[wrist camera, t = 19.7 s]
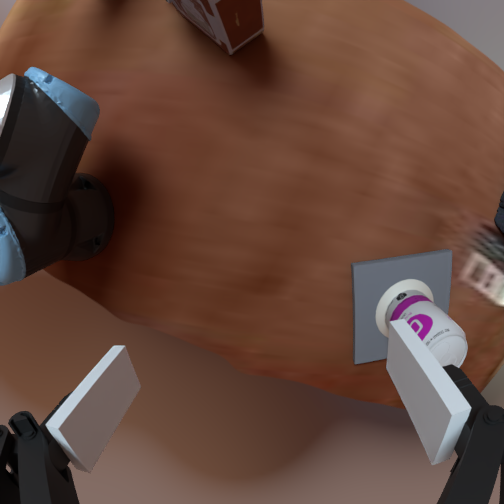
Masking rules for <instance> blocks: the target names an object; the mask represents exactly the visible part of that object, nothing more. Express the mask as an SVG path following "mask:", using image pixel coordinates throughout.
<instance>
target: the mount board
mask: <svg viewBox="0 0 504 504" xmlns="http://www.w3.org/2000/svg"><path fill="white" fill-rule="evenodd" d="M451 269H452V251H451V250H449V249H445V250H439V251H432V252H426V253H419V254H413V255H406V256H399V257H392V258H385V259H378V260H371V261H364V262H357V263H351V270H352V293H353V361H354V364H360V363H365V362H371V361H376V360H381V359H386V358H387V354H388V341H389V330H388V328H387V325H386V323H385V313H386V310H387V307H388V305H389V304H390V302H391V301H392V299H393V298H394V297H396V296H397V295H398V294H399V293H401V292H404V291H406V290H418V291H420V292H422V293H423V294H424V295H426V296H427V297H428V298H429V299H430V300H431V301H432V302H433V303H435V304H436V305H437V306H438V307H439V308H440V309H441V310H442V311H443V312H444V313H446V314H447V315H448V308H449V298H450V286H451Z"/></svg>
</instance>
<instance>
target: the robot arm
mask: <svg viewBox="0 0 504 504" xmlns="http://www.w3.org/2000/svg"><path fill="white" fill-rule="evenodd" d="M99 113H100V109H99V105H98V103H97V102H96V101H95V100H94V99H92V98H91V97H89V96H88V95H86V94H85V93H83V92H81V91H80V90H78V89H76V88H74V87H73V86H71V85H69V84H67V83H65V82H64V81H62V80H60V79H58V78H55V77H54V76H52V75H50V74H48V73H46V72H44V71H42V70H40V69H38V68H36V67H30V68H29V69H28V71H26V72H25V74H24V77H22V76H18V75H15V74H10V75H8V76H6V77H5V78H3V79H1V80H0V285H7V284H10V283H12V282H15V281H21V280H23V279H24V278H25V277H27V276H29V275H31V274H33V273H35V272H37V271H39V270H41V269H43V268H45V267H47V266H49V265H51V264H53V263H55V262H57V261H59V260H72V261H82V260H86V259H89V258H91V257H93V256H95V255H97V254H99V253H100V252H101V251H102V250H103V249H104V248H105V247H106V245H107V244H108V242H109V240H110V238H111V235H112V232H113V227H114V210H113V205H112V201H111V198H110V196H109V194H108V192H107V190H106V188H105V187H104V186H103V184H102V183H101V182H100V181H99V180H98V179H96V178H95V177H93V176H91V175H89V174H85V173H76V170H77V168H78V165H79V163H80V160H81V158H82V155H83V153H84V150H85V148H86V146H87V143H88V141H90V140H91V134H92V131H93V129H94V126H95V124H96V122H97V119H98V117H99ZM386 369H387V371H388V373H389V375H390V377H391V379H392V381H393V383H394V385H395V387H396V389H397V391H398V393H399V395H400V397H401V399H402V401H403V403H404V405H405V407H406V409H407V411H408V413H409V415H410V418H411V420H412V422H413V424H414V426H415V428H416V430H417V433H418V435H419V437H420V439H421V442H422V444H423V446H424V448H425V450H426V453H427V455H428V458H429V460H430V462H431V465H434V464H437V463H440V462H443V461H446V460H448V459H450V457H451V455H452V453H453V451H454V450H455V451H456V453H457V455H458V458H457V460H456V462H455V464H454V466H453V468H452V469H451V471H450V472H451V474H450V477H449V479H448V481H447V483H446V486H445V488H444V490H443V492H442V494H441V497H440V498H439V500H438V502H437V504H488V503H489V499H490V497H491V494H492V491H493V488H494V484H495V481H496V478H497V474H498V470H499V466H500V464H501V482H500V501H499V504H504V409H503V408H502V407H499V406H496V405H494V406H493V405H492V406H491V405H489V404H488V403H487V402H486V400H485V399H484V398H483V396H482V395H481V394H480V392H479V391H478V390H477V389H476V387H475V386H474V385H473V384H472V382H471V381H470V380H469V378H468V379H467V376H466V375H465V374H464V372H463V371H462V370H461V369H460V368H458V367H456V366H454V365H453V364H450V365H447V366H443V367H442V366H441V365H440V364H439V362H438V361H437V360H436V358H435V357H434V356H433V354H432V353H431V352H430V351H429V349H428V348H427V347H426V345H425V344H424V343H423V342H422V340H421V339H420V338H419V337H418V335H417V334H416V333H415V332H414V330H413V329H412V328H411V327H410V325H409V324H408V323H407V322H406V320H405V319H400V320H395V321H390V322H389V341H388V354H387V366H386ZM140 388H141V386H140V383H139V381H138V378H137V376H136V373H135V371H134V368H133V366H132V363H131V360H130V357H129V355H128V352H127V349H126V346H113V347H112V348H111V349H110V350H109V351H108V353H107V354H106V355H105V356H104V357H103V358H102V359H101V360H100V361H99V363H98V364H97V365H96V366H95V367H94V368H93V369H92V370H91V372H90V373H89V374H88V375H87V376H86V377H85V379H84V380H83V381H82V382H81V383H80V384H79V385H78V387H77V388H76V389H75V390H74V391H72V392H71V393H69V394H68V395H67V396H65V397H64V398H63V399H62V400H61V401H60V403H59V405H57V406H56V407H55V410H53V411H52V412H51V413H50V414H49V415H48V416H47V418H46V419H45V420H44V421H43V423H42V424H41V425H40V426H39V425H38V424H37V422H36V420H35V419H34V417H33V416H32V414H31V413H29V412H28V411H21V412H18V413H16V414H15V415H13V416H12V417H11V419H10V420H9V423H8V424H9V425H10V427H11V428H12V430H13V431H14V433H15V434H11V433H10V431H9V430H8V428H7V427H6V426H4V425H0V504H79V500H78V497H77V493H76V490H75V486H74V482H73V478H72V474H71V470H70V468H69V467H68V466H67V465H68V463H69V462H70V461H71V462H72V464H73V465H74V466H75V467H76V469H78V470H81V471H84V472H88V473H90V472H91V470H92V469H93V467H94V465H95V464H96V462H97V460H98V459H99V457H100V455H101V453H102V451H103V450H104V448H105V447H106V445H107V443H108V442H109V440H110V438H111V436H112V435H113V433H114V431H115V430H116V428H117V426H118V425H119V423H120V421H121V420H122V418H123V416H124V415H125V413H126V411H127V409H128V408H129V406H130V405H131V403H132V401H133V400H134V398H135V396H136V395H137V393H138V391H139V390H140ZM6 464H7V465H8V466H9V467H10V468H11V472H10V473H9V472H8V471H7V470H6Z"/></svg>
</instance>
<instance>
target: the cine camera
mask: <svg viewBox="0 0 504 504" xmlns="http://www.w3.org/2000/svg"><path fill="white" fill-rule="evenodd" d="M166 1H167V2H168V3H171V2H172V3H173V5H174V6H175V7H176V9H177V10H178V11H179V13H180V14H181V15H182V16H184V17H185V18H186V19H187V20H189V21H190V22H191V23H192V24H193V25H195V26H196V27H197V28H198V29H200V30H201V31H202V32H203V33H204V34H205V35H207V36H208V37H209V38H210V39H211V40H212V41H214V42H215V43H216V44H217V45H218V46H219V47H220V48H221V49H223V50H224V51H225V52H226V53H227V54H229V55H232V54H234V53H235V52H236V51H238V50H239V49H240V48H242V47H243V46H244V45H246V44H247V43H249V42H250V41H251V40H253V39H254V38H256V37H257V36H258V35H260V34H261V33H262V32H263V31H264V18H263V7H262V0H166Z"/></svg>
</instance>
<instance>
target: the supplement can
mask: <svg viewBox="0 0 504 504" xmlns="http://www.w3.org/2000/svg"><path fill="white" fill-rule="evenodd" d="M400 319H405V320H406V322H407V323H408V324H409V325H410V327H411V328H412V329H413V330H414V332H415V333H416V334H417V335H418V337H419V338H420V339H421V340H422V342H423V343H424V344H425V345H426V347H427V348H428V349H429V351H430V352H431V353H432V354H433V356H434V357H435V358H436V360H437V361H438V362H439V364H440V365H441V366H442V367H443V366H447V365H450V364H453V365H454V366H456V367H458V368H459V367H460V366H461V364H462V363H463V361H464V359H465V357H466V354H467V349H468V347H467V341H466V338H465V333H464V331H463V330H462V329H461V328H460V327H459V326H458V325H457V324H456V323H455V322H454V321H453V320H452V319H451V318H450V317H449V316H448V315H447V314H446V313H444V312H443V311H442V310H441V309H440V308H439V307H438V306H437V305H436V304H435V303H433V302H432V301H431V300H430V299H429V298H428V297H427V296H426V295H424V294H423V293H422V292H420V291H418V290H406V291H404V292H401V293H399V294H398V295H397V296H396V297H394V298H393V299H392V301H391V302H390V304H389V305H388V307H387V310H386V313H385V323H386V325H387V328H388V330H389V322H390V321H395V320H400Z"/></svg>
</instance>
